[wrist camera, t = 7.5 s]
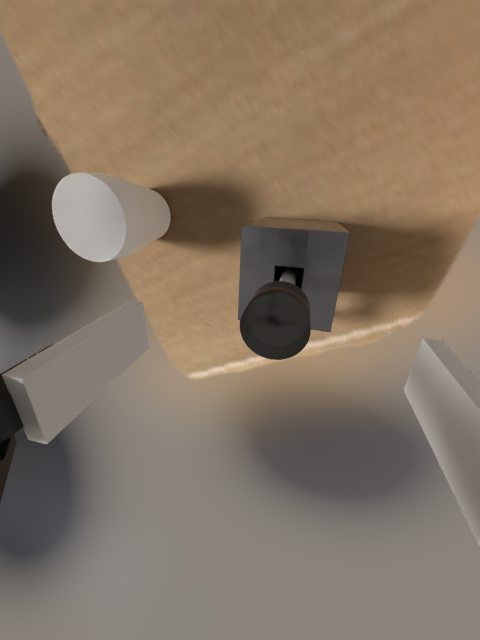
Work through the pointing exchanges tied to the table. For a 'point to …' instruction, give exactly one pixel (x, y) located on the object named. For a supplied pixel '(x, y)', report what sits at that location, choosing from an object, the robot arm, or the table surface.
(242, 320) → the plunger
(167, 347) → the table surface
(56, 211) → the cup
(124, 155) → the table surface
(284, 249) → the grey box with handle
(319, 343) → the table surface
